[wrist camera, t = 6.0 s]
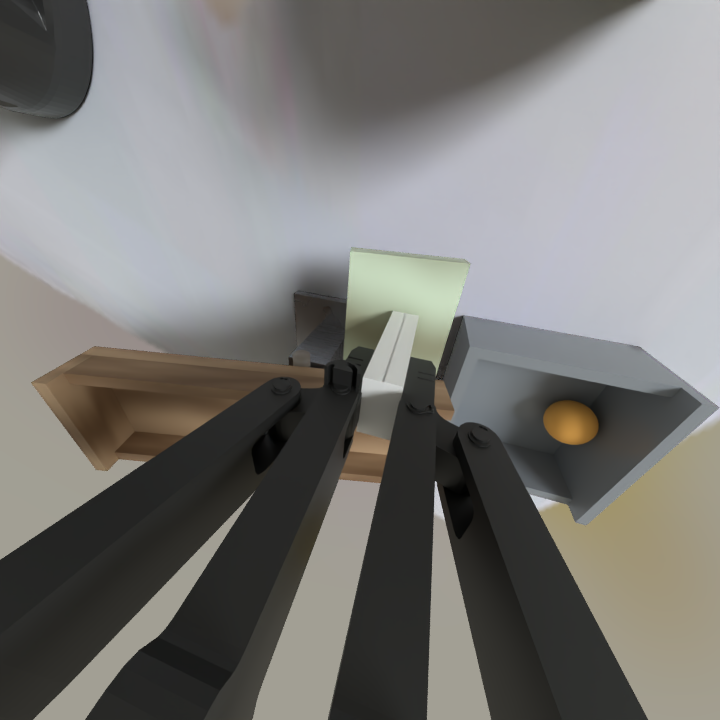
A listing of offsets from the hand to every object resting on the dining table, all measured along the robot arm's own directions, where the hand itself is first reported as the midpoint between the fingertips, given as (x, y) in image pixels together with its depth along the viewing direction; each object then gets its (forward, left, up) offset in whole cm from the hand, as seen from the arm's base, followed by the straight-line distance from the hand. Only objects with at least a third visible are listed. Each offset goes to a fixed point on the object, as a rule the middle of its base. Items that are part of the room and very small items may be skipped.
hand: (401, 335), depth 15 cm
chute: (-1, -9, -1) cm, 10 cm away
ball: (+15, +8, -6) cm, 18 cm away
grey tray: (+13, +4, -9) cm, 16 cm away
